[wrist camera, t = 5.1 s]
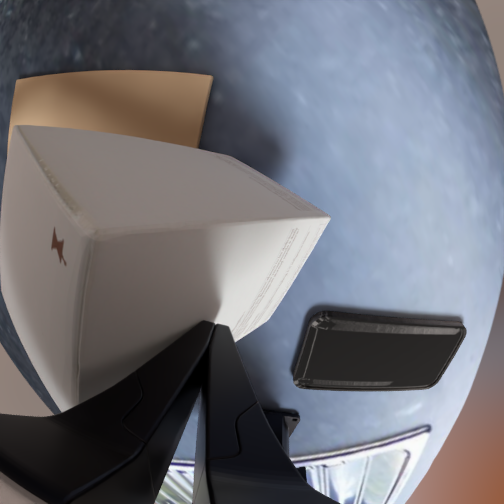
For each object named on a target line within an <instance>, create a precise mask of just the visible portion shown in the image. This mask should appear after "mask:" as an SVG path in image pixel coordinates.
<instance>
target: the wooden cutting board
mask: <svg viewBox="0 0 504 504" xmlns="http://www.w3.org/2000/svg"><path fill="white" fill-rule="evenodd" d="M213 78H214V77H212V76H211V75H202V74H193V73H182V72H168V71H147V70H104V71H84V72H71V73H61V74H52V75H44V76H37V77H30V78H24V79H19V80H17V81H16V86H15V92H14V97H13V104H12V111H11V118H10V127H9V138H8V150H9V145H10V140H11V135H12V130H13V127H14V126H15V125H34V126H48V127H60V128H72V129H81V130H90V131H98V132H106V133H113V134H120V135H127V136H133V137H139V138H145V139H150V140H155V141H161V142H166V143H172V144H177V145H182V146H187V147H192V148H197V149H198V148H199V143H200V138H201V133H202V128H203V123H204V118H205V113H206V109H207V104H208V99H209V95H210V91H211V86H212V82H213ZM7 156H8V153H7Z"/></svg>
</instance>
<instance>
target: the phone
mask: <svg viewBox="0 0 504 504" xmlns="http://www.w3.org/2000/svg"><path fill="white" fill-rule="evenodd" d="M466 332H467V331H466V328H465V327H464V325H463V324H462V323H461V322H458V321H439V320H424V319H409V318H397V317H385V316H373V315H363V314H353V313H343V312H334V311H321V312H318V313H316V314H315V315H313V316H312V317H311V319H310V321H309V324H308V327H307V330H306V334H305V337H304V341H303V344H302V347H301V351H300V354H299V357H298V360H297V363H296V367H295V370H294V373H293V381H294V384H295V385H296V386H297V387H299V388H302V389H312V390H331V391H406V390H424V389H429V388H431V387H433V386H434V385H436V384H437V383H438V381H439V380H440V379H441V377H442V375H443V374H444V372H445V371H446V369H447V367H448V366H449V364H450V363H451V361H452V359H453V358H454V356H455V354H456V352H457V351H458V349H459V347H460V345H461V344H462V342H463V340H464V338H465V336H466Z"/></svg>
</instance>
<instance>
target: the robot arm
mask: <svg viewBox="0 0 504 504" xmlns="http://www.w3.org/2000/svg"><path fill="white" fill-rule="evenodd" d="M201 386H202V387H201ZM200 389H201V394H200V405H199V416H198V428H197V440H196V453H195V468H194V483H193V501H192V504H340V503H338V502H336V501H334V500H333V499H331V498H329V497H327V496H325V495H323V494H322V493H320V492H318V491H317V490H315V489H314V488H312V487H311V486H310V485H309V484H308V483H307V479H306V468H305V467H299V468H296V467H295V466H294V464H293V463H292V461H291V460H290V458H289V437H290V436H291V434H292V432H293V431H294V429H295V428H296V426H297V424H298V423H299V421H300V416H299V415H298V414H291V413H283V412H275V411H268V410H262V408H261V405H260V403H258V402H259V401H258V399H257V396H256V394H255V391H254V389H253V386H252V384H251V381H250V379H249V376H248V374H247V371H246V369H245V366H244V364H243V361H242V359H241V356H240V353H239V351H238V348H237V346H236V343H235V340H234V338H233V335H232V333H231V330H230V327H229V326H227V325H223V324H215V323H214V322H210V321H206V320H202V321H201V322H199V323H198V324H197V325H196V326H194V327H193V328H192V329H190V330H189V331H188V332H186V333H185V334H184V335H182V336H181V337H180V338H178V339H177V340H176V341H174V342H173V343H172V344H170V345H169V346H168V347H166V348H165V349H164V350H162V351H161V352H159V353H158V354H157V355H155V356H154V357H153V358H151V359H150V360H149V361H147V362H146V363H145V364H143V365H142V366H141V367H139V368H138V369H136V370H135V372H132V373H131V374H129V375H128V376H127V377H125V378H124V379H122V380H121V381H119V382H118V383H116V384H115V385H113V386H112V387H110V388H108V389H106V390H105V391H103V392H101V393H99V394H97V395H96V396H94V397H92V398H90V399H88V400H86V401H84V402H82V403H80V404H78V405H76V406H74V407H72V408H70V409H68V410H66V411H64V412H62V413H59V414H56V415H52V416H47V417H33V416H20V415H9V414H0V504H154V503H155V500H156V498H157V495H158V493H159V490H160V488H161V485H162V483H163V481H164V478H165V476H166V473H167V471H168V468H169V466H170V463H171V461H172V459H173V456H174V454H175V451H176V449H177V446H178V444H179V441H180V439H181V436H182V434H183V432H184V429H185V427H186V424H187V422H188V419H189V417H190V414H191V412H192V409H193V407H194V404H195V402H196V399H197V397H198V395H199V392H200Z"/></svg>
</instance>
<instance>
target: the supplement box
mask: <svg viewBox="0 0 504 504" xmlns="http://www.w3.org/2000/svg"><path fill="white" fill-rule="evenodd" d="M330 219H331V217H330V215H328V214H327V213H325V212H323V211H322V210H320V209H319V208H317V207H315V206H314V205H312V204H311V203H309V202H308V201H306V200H304V199H303V198H301V197H299V196H298V195H296V194H295V193H293V192H291V191H290V190H288V189H286V188H285V187H283V186H281V185H280V184H278V183H277V182H275V181H273V180H272V179H270V178H268V177H267V176H265V175H263V174H261V173H260V172H258V171H256V170H255V169H253V168H251V167H249V166H248V165H246V164H244V163H242V162H241V161H239V160H237V159H235V158H233V157H231V156H228V155H224V154H219V153H215V152H210V151H206V150H201V149H197V148H192V147H187V146H182V145H177V144H172V143H166V142H161V141H155V140H150V139H145V138H139V137H133V136H127V135H120V134H113V133H106V132H98V131H90V130H81V129H72V128H60V127H48V126H34V125H15V126H14V127H13V130H12V135H11V140H10V145H9V150H8V156H7V162H6V169H5V177H4V185H3V195H2V206H1V222H0V274H1V291H2V294H3V297H4V300H5V303H6V306H7V309H8V311H9V314H10V317H11V319H12V322H13V324H14V326H15V329H16V331H17V333H18V336H19V338H20V340H21V342H22V344H23V346H24V348H25V350H26V352H27V354H28V356H29V358H30V360H31V362H32V364H33V366H34V368H35V369H36V371H37V373H38V375H39V377H40V378H41V380H42V382H43V383H44V385H45V387H46V388H47V390H48V392H49V393H50V395H51V397H52V398H53V400H54V401H55V403H56V404H57V406H58V407H59V409H60V410H61V412H64V411H66V410H68V409H70V408H72V407H74V406H76V405H78V404H80V403H82V402H84V401H86V400H88V399H90V398H92V397H94V396H96V395H97V394H99V393H101V392H103V391H105V390H106V389H108V388H110V387H112V386H113V385H115V384H116V383H118V382H119V381H121V380H122V379H124V378H125V377H127V376H128V375H129V374H131V373H132V372H135V370H136V369H138V368H139V367H141V366H142V365H143V364H145V363H146V362H147V361H149V360H150V359H151V358H153V357H154V356H155V355H157V354H158V353H159V352H161V351H162V350H164V349H165V348H166V347H168V346H169V345H170V344H172V343H173V342H174V341H176V340H177V339H178V338H180V337H181V336H182V335H184V334H185V333H186V332H188V331H189V330H190V329H192V328H193V327H194V326H196V325H197V324H198V323H199V322H201V321H202V320H206V321H210V322H214V323H215V324H223V325H227V326H229V327H230V330H231V333H232V335H233V338H234V340H235V342H236V341H238V340H239V339H241V338H242V337H244V336H245V335H247V334H249V333H250V332H251V331H253V330H254V329H256V328H258V327H259V326H260V325H262V324H263V323H265V322H266V321H268V320H269V318H270V317H271V315H272V314H273V312H274V311H275V310H276V308H277V307H278V305H279V304H280V302H281V300H282V299H283V297H284V296H285V294H286V293H287V291H288V289H289V288H290V286H291V285H292V283H293V281H294V280H295V278H296V276H297V275H298V273H299V271H300V270H301V268H302V266H303V265H304V263H305V261H306V260H307V258H308V256H309V255H310V253H311V251H312V250H313V248H314V246H315V245H316V243H317V241H318V239H319V238H320V236H321V234H322V233H323V231H324V229H325V227H326V226H327V224H328V222H329V221H330Z"/></svg>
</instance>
